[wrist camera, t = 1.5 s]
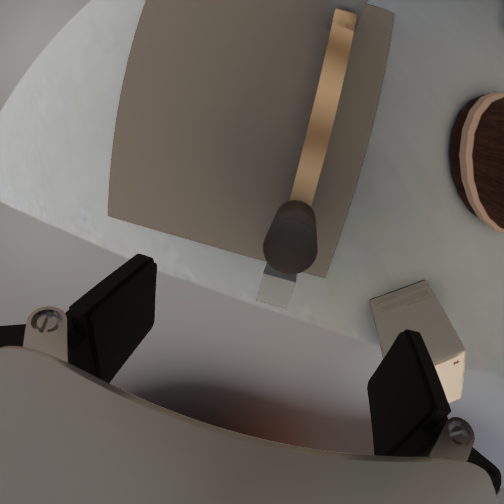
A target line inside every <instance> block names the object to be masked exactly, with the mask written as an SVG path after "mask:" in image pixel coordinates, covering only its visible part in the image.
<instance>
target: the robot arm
mask: <svg viewBox="0 0 504 504" xmlns="http://www.w3.org/2000/svg"><path fill="white" fill-rule="evenodd" d="M156 273H157V264H156V263H154V261H153V258H151V257H148V256H145V255H142V254H137V255H135V256H134V257H133V258H131V259H130V260H129V261H127V262H126V263H125V264H123V265H122V266H121V267H119V268H118V269H117V270H115V271H114V272H113V273H112V274H110V275H109V276H107V277H106V278H105V279H104V280H102V281H101V282H100V283H99V284H97V285H96V286H95V287H93V288H92V289H91V290H90V291H88V292H87V293H86V294H85V295H83V296H82V297H81V298H80V299H79V300H77V301H76V302H75V303H73V304H72V305H71V306H70V307H69V310H68V311H67V312H66V313H64V311H62V310H61V309H59V308H56V307H50V306H49V307H48V306H47V307H41V308H39V309H36V310H35V311H33V312H32V313H31V314H30V315H29V317H28V319H27V323H26V324H23V325H9V326H0V504H504V488H503V487H502V488H500V485H501V473H500V471H499V469H497V467H496V466H495V465H493V464H492V463H491V462H490V461H489V460H487V459H486V458H485V457H484V456H482V455H481V454H480V453H479V452H478V451H476V450H475V449H474V448H473V447H472V446H473V443H474V439H475V438H474V432H473V430H472V428H471V426H470V425H469V424H468V423H467V422H466V421H465V420H463V419H461V418H458V417H453V418H451V419H448V418H447V415H448V414H449V413H450V412H451V409H450V406H449V403H448V401H447V398H446V395H445V392H444V389H443V387H442V384H441V381H440V379H439V376H438V374H437V371H436V369H435V366H434V364H433V361H432V359H431V357H430V354H429V352H428V350H427V347H426V345H425V343H424V340H423V338H422V336H421V334H420V332H417V331H413V330H408V329H406V330H404V331H403V332H400V333H399V334H398V336H397V338H396V339H395V341H394V343H393V344H392V346H391V348H390V349H389V351H388V352H387V354H386V356H385V357H384V359H383V360H382V362H381V364H380V365H379V367H378V368H377V370H376V371H375V373H374V374H373V376H372V377H371V378H370V380H369V382H368V386H367V390H368V397H369V405H370V413H371V422H372V431H373V443H374V455H360V454H349V453H339V452H331V451H324V450H317V449H310V448H304V447H298V446H293V445H287V444H282V443H278V442H272V441H268V440H264V439H260V438H255V437H252V436H247V435H244V434H240V433H236V432H233V431H229V430H226V429H223V428H219V427H216V426H213V425H210V424H207V423H204V422H200V421H198V420H195V419H192V418H189V417H186V416H183V415H180V414H178V413H175V412H173V411H170V410H168V409H165V408H162V407H160V406H157V405H155V404H153V403H150V402H148V401H146V400H143V399H141V398H139V397H137V396H135V395H132V394H130V393H128V392H126V391H123V390H121V389H119V388H117V387H115V386H113V385H111V384H109V383H110V381H111V380H112V379H113V378H114V376H115V374H116V373H117V372H118V371H119V370H120V368H121V367H122V366H123V364H124V363H125V362H126V360H127V359H128V358H129V356H130V355H131V354H132V353H133V351H134V350H135V349H136V348H137V346H138V345H139V344H140V342H141V341H142V340H143V339H144V337H145V336H146V335H147V333H148V332H149V331H150V330H151V328H152V326H153V324H154V317H155V290H156ZM499 488H500V489H499Z"/></svg>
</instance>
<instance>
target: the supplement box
mask: <svg viewBox="0 0 504 504" xmlns="http://www.w3.org/2000/svg"><path fill="white" fill-rule="evenodd" d="M370 304H371V308H372V312H373V316H374V320H375V325H376V329H377V333H378V338H379V342H380V347H381V351H382V356H383V359H384V357H385V356H386V354H387V352H388V351H389V349H390V348H391V346H392V344H393V343H394V341H395V339H396V338H397V336H398V334H399V333H400V332H403V331H404V330H406V329H408V330H413V331H417V332H420V334H421V336H422V338H423V340H424V343H425V345H426V347H427V350H428V352H429V354H430V357H431V359H432V361H433V364H434V366H435V369H436V371H437V374H438V376H439V379H440V381H441V384H442V387H443V389H444V392H445V395H446V398H447V401H448V403H450V402H452V401H455V400H457V399H460V398H461V396H462V388H463V379H464V369H465V355H466V350H465V348H464V346H463V344H462V342H461V340H460V339H459V337H458V335H457V333H456V331H455V329H454V328H453V326H452V324H451V322H450V320H449V319H448V317H447V315H446V314H445V312H444V310H443V308H442V307H441V305H440V303H439V302H438V300H437V298H436V297H435V295H434V294H433V292H432V290H431V289H430V287H429V286H428V284H427V283H426V281H425V280H424V281H421V282H419V283H416V284H413V285H411V286H408V287H405V288H402V289H400V290H397V291H394V292H391V293H389V294H386V295H383V296H380V297H377V298H375V299H372V300H370Z"/></svg>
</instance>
